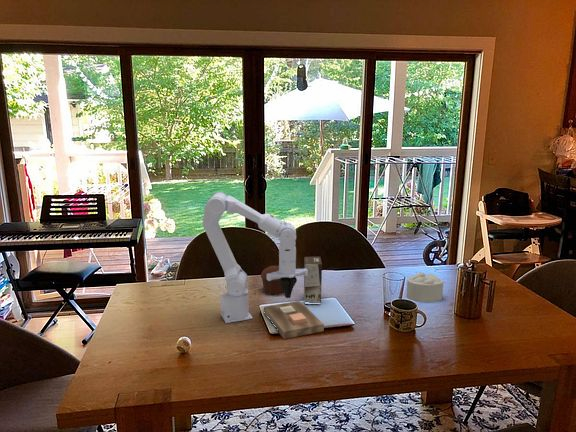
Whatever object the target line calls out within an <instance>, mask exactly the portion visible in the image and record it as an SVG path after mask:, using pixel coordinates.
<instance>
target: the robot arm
mask: <svg viewBox="0 0 576 432" xmlns="http://www.w3.org/2000/svg"><path fill="white" fill-rule="evenodd" d="M203 211H204V212H203V217H202V227H203V229H204V231H205V233H206V236H207V237H208V240H209V242H210V244H211V246H212V249H213V250H214V252H215V255H216V257H217V259H218V261H219V263H220V266H221V267H222V270H223V273H224V280H225V282H226V291H227V292H226V293H224V294H223V293H222V294H221V295H220V316H221V317H222V319H223V320H224V322H225V324H229V323H236V322H240V321H247V320H251V319H253V316H252V314H251V313H250V312H249V311H250V310H249V289H248V288H247V283H248V280H249V276H248V274H247V273H246V272H245V271H244V270H243V269H242V268H241V266H240V265H239V264H238V263H237V261H236V259H235V256H234V254H233V252H232V250H231V248H230V245H229V243H228V241H227V239H226V237H225V234H224V232H223V230H222V227H221V225H220V223H219V222H220V219H221V217H222V216H223V214H224V213H225V212H226V215H231V214H238V215H239V216H242V217H244V218H246V219H248V220H250V221H252V222H253V223H256V224H257V226H258V229H260V230H262V231H263V232H265V233H267V234H268V235H271V236H273V237H275V238H278V240H279V246H278V262H279V263H278V266H279V271H276V272H273V273H268V274H267V280H268V281H271V280H273V279H279V281H280V283H281V285H282V287H283V290H284V293H283V294H284V297H285V299H290V298H291V296H292V293H293V290H294V287H295V285H296V283H297V281H298V279H297V278H296V277H300V276H304V275H305V276H307V275H308V270H307V269H306V268H305V269H304V268H296V267H297V247H296V243H297V229H296V228H295V226H294V225H292V224H291V223H290V222H287V221H285V220H284V221H282V220H281V219H278V218H276V217H275V214H273V213H270V214H269V213H268V212H267V213H264V214H261V213H260V212H258V211H257V210H255V209H254V208H252V207H250V206H248V205H247V204H245V203H243V202H241V201H240V200H239V199H237V198H236V197H234V196H232V195H229V194H228V195H227V193H225V192H222V191H219V192H215V193H213V195H212V196H211V198H209V199H208V201H206V203H205V205H204V207H203Z"/></svg>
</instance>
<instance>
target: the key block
mask: <svg viewBox="0 0 576 432" xmlns="http://www.w3.org/2000/svg"><path fill="white" fill-rule="evenodd" d="M286 306H292V307H293V308H294V309H295V310H296V312H292V313H286V314H283V313H282V312H281V311H280V309H279V308H280V307H286ZM264 312H265V314H266V315H267V316H268V317H269V318H270V320H271V321H272V322H273V324H274V325H275V326H276V328H277V329H278V331H279V332H278V331H277V332H278V334H279V335H280V336H281V337H282V339H283V340H285V339H291V338H296V337H301V336H307V335H310V334H312V335H313V334H315V333H321V332H324V330H325V326H324V325H325V324H324V323H323V321H321V320H320V319H319V318H318V317H317V316H316V315H315V314H314V313H313V312H312V311H311V310H310V309H309V308H308V307H307V305H305V303H304V302H302V301H300V300H297V301H290V302H284V303H279V304H274V305H273V304H272V305H267V306H263V313H264ZM297 313H302V314H303V315H304V316H305V317H306V323H303V324H297V325H293V324H292V323H291V322H290V321H289V315H291V314H297ZM265 314H264V315H265ZM276 328H275V329H276Z"/></svg>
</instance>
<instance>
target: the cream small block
mask: <svg viewBox="0 0 576 432" xmlns="http://www.w3.org/2000/svg"><path fill="white" fill-rule="evenodd" d="M279 309H280V311H281V312H282V313H283V314H286V313H292V312H296V310H295V309H294V308H293V307H292V306H286V307H280V308H279Z"/></svg>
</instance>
